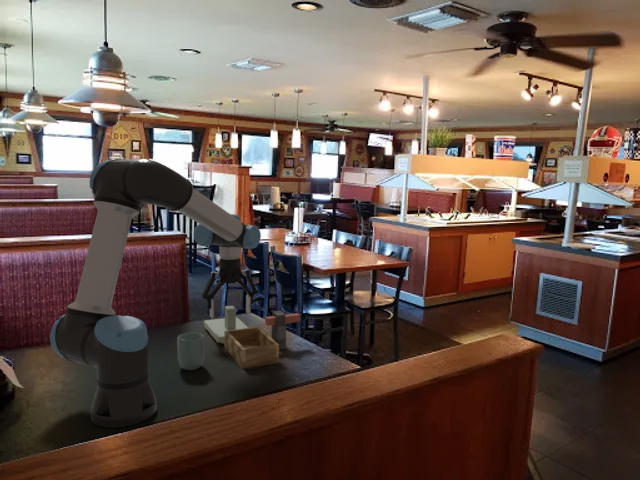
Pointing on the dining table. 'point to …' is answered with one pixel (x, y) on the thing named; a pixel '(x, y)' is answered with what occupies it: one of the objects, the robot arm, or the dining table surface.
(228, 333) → the wooden box
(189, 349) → the cup
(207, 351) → the dining table surface
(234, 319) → the lid
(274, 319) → the red bar
